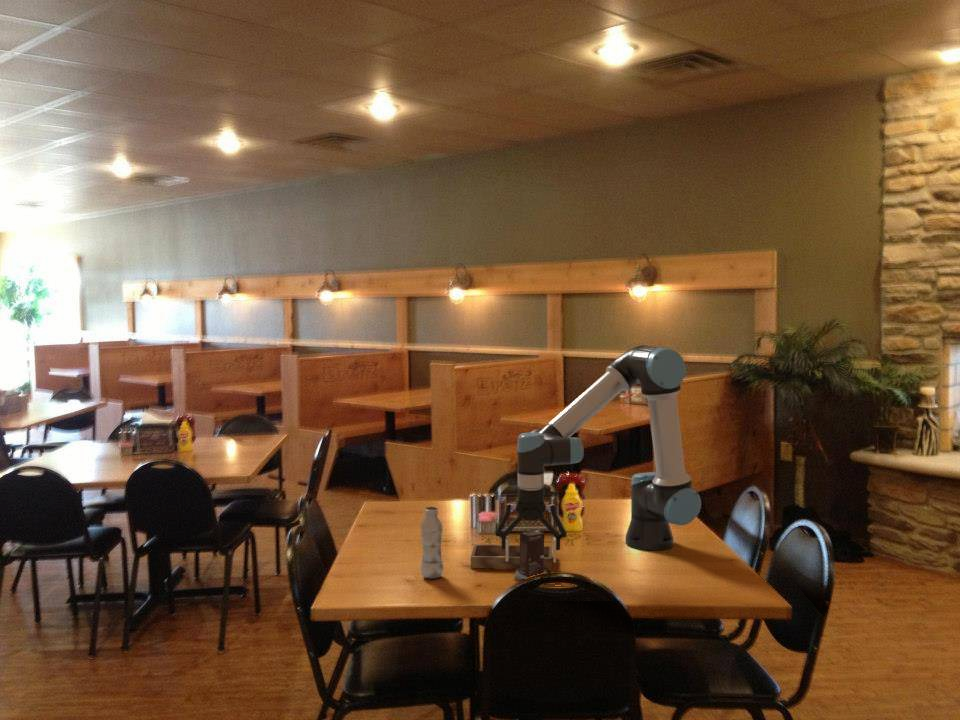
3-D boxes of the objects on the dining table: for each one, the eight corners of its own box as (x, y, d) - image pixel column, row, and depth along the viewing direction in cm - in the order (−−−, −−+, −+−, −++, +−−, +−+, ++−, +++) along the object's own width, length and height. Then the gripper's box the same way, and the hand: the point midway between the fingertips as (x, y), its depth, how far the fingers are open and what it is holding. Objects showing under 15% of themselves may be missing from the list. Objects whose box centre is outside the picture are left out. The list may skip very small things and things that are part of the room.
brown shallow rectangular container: (551, 556, 266) (551, 545, 265) (551, 570, 253) (551, 558, 253) (474, 555, 268) (474, 544, 267) (470, 568, 255) (470, 556, 255)
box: (528, 577, 245) (528, 535, 244) (518, 573, 249) (518, 532, 248) (545, 573, 249) (545, 532, 248) (535, 569, 253) (535, 529, 252)
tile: (546, 570, 253) (546, 568, 253) (546, 580, 244) (546, 579, 244) (515, 569, 254) (515, 568, 254) (514, 579, 245) (514, 578, 245)
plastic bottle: (423, 582, 243) (422, 512, 242) (418, 574, 250) (417, 506, 248) (446, 580, 245) (445, 510, 244) (440, 572, 252) (439, 504, 250)
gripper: (574, 485, 250) (574, 557, 251) (488, 483, 252) (488, 555, 253) (575, 491, 242) (575, 565, 244) (486, 489, 244) (486, 563, 246)
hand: (530, 560), depth 249 cm, fingers open, 13 cm apart
